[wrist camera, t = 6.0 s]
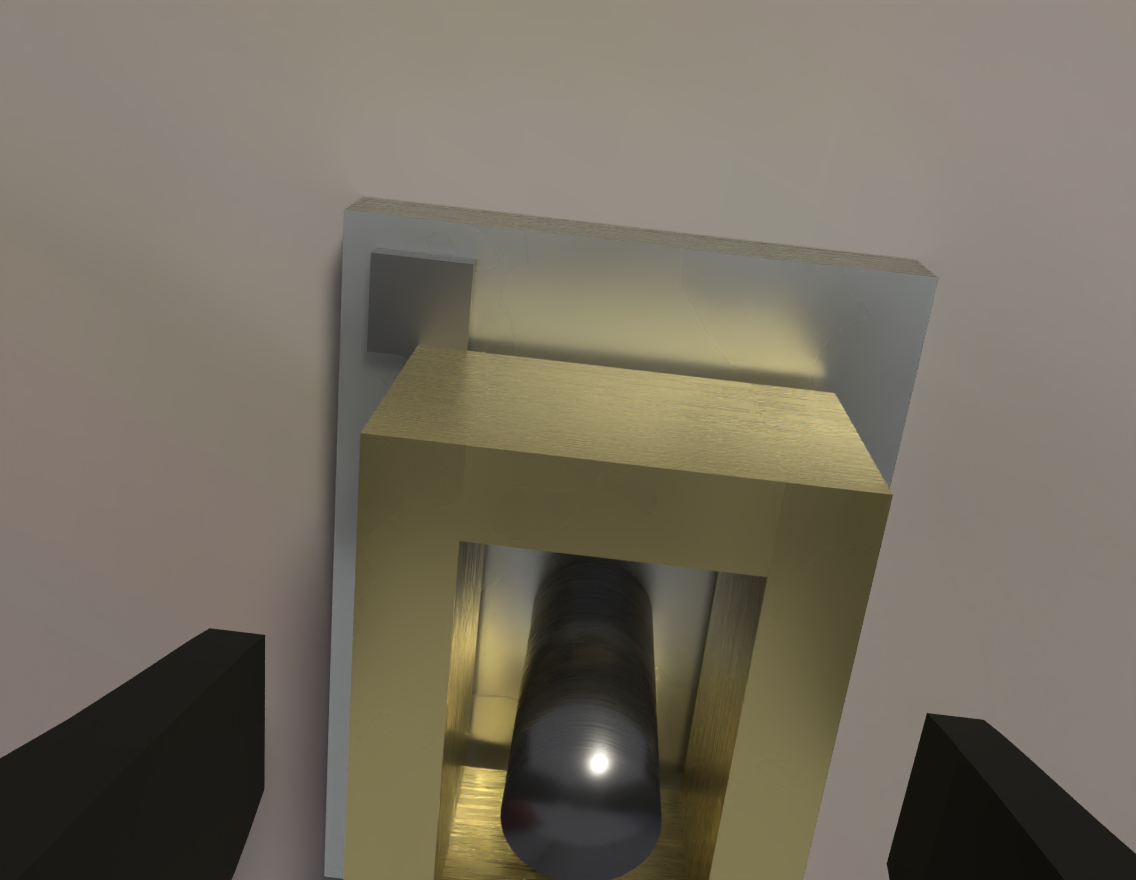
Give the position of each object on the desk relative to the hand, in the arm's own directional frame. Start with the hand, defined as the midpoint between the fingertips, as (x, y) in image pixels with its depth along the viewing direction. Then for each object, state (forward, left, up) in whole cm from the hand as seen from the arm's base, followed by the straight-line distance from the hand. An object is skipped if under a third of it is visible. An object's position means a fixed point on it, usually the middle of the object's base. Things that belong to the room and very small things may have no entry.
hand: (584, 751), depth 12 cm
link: (0, 0, -3) cm, 3 cm away
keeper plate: (0, 0, -4) cm, 4 cm away
